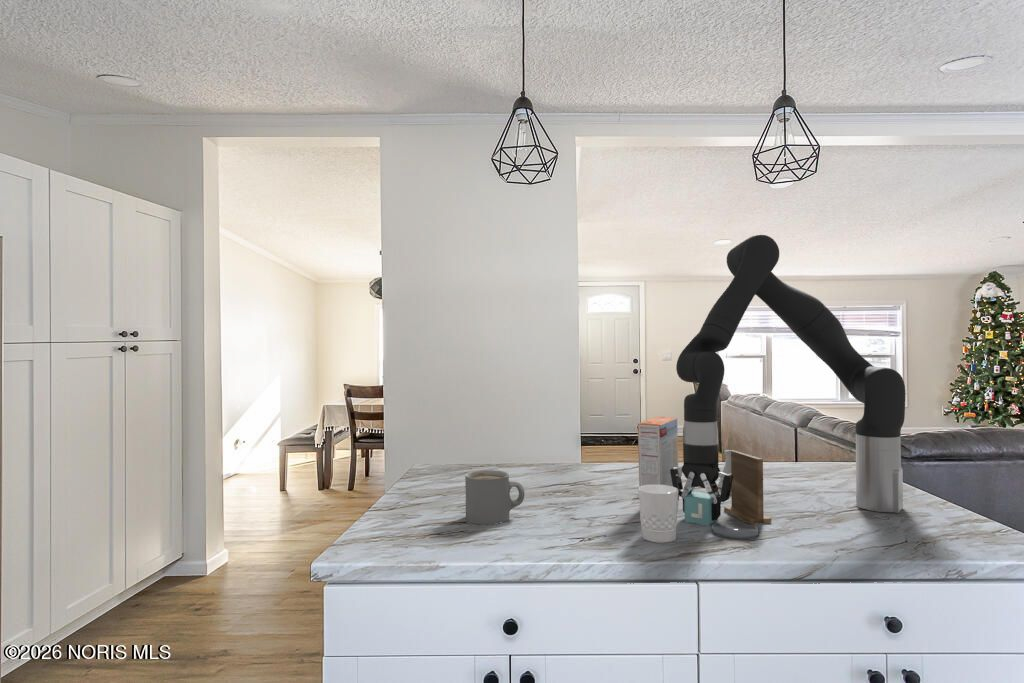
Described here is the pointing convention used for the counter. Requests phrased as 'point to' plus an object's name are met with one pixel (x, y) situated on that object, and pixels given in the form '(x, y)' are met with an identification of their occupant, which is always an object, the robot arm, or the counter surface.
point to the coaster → (734, 530)
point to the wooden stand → (747, 488)
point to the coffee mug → (490, 496)
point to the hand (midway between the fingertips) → (701, 517)
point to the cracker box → (657, 450)
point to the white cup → (658, 512)
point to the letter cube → (698, 508)
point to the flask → (726, 465)
